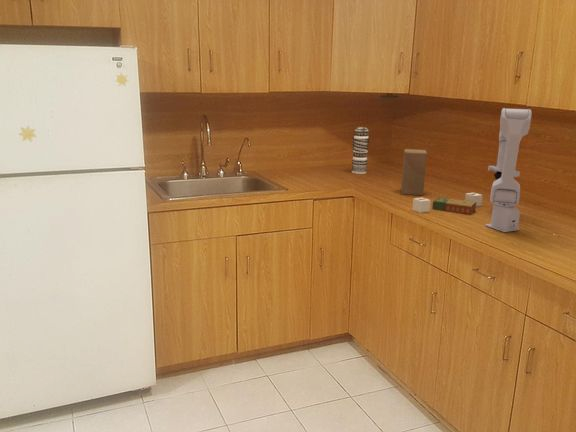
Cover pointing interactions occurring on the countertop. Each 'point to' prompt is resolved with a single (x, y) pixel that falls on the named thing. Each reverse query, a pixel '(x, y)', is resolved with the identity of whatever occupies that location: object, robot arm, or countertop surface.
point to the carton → (454, 205)
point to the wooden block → (413, 172)
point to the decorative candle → (360, 150)
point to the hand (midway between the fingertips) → (500, 190)
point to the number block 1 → (421, 205)
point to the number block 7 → (474, 198)
